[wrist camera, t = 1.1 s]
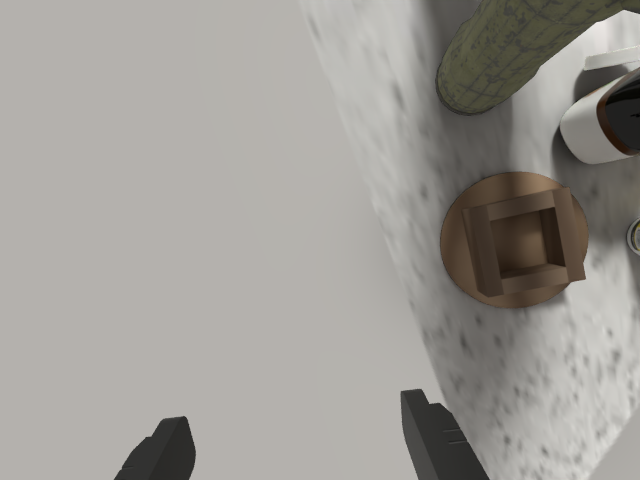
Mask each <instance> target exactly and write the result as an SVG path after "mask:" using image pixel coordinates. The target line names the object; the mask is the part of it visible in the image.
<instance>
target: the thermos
mask: <svg viewBox="0 0 640 480" xmlns="http://www.w3.org/2000/svg"><path fill="white" fill-rule="evenodd" d="M622 10H627V11H631V12H634V13H638V14H640V0H482V2H481V4H480V5H479V7H478V9H477V10H476V12H475V14H474V15H473V17H472V18H470V19H469V20H467V21H466V22H464V23H463V24H462V25H461V26H460V28H459V30H458V32H457V33H456V35H455V37H454V38H453V40H452V42H451V44H450V45H449V47H448V49H447V51H446V53H445V55H444V57H443V59H442V62H441V64H440V66H439V68H438V70H437V75H436V80H435V81H436V90H437V93H438V96H439V98H440V100H441V102H442V103H443V104H444V105H445V106H446V107H447V108H448V109H449V110H451V111H453V112H455V113H457V114H461V115H469V116H471V115H476V114H482V113H484V112H486V111H487V110H489V109H491V108H493V107H494V106H495V105H497V104H499V103H501V102H503V101H505V100H506V99H507V98H509V97H510V96H511V95H513V94H514V93H515V92H517V91H518V90H519V89H520V88H521V87H522V86H524V85H525V84H526V83H527V82H528V81H529V80H530V79H531V78H533V77H534V76H535V74H536V73H537V71H538V69H539V67H540V66H541V65H543V64H544V63H545V62H546V61H548V60H549V59H550V58H551V57H553V56H554V55H555V54H557V53H558V52H559V51H560V50H562V49H563V48H564V47H565V46H567V45H568V44H569V43H571V42H572V41H573V40H574V39H576V38H577V37H578V36H579V35H581V34H582V33H583V32H585V31H586V30H587V29H588V28H590V27H591V26H592V25H593V24H595V23H596V22H599V21H603V20H605V19H607V18H609V17H611V16H613V15H615V14H617V13H618V12H620V11H622Z"/></svg>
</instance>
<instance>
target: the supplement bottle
mask: <svg viewBox="0 0 640 480" xmlns="http://www.w3.org/2000/svg"><path fill="white" fill-rule="evenodd" d="M627 241H628V244H629V246H630V248H631V249H632V250H633V251H634V252H635V253H636V254H638V255H640V218H638V219H637V220H636V221H635V222H634V223H633V224H632V225H631V226H630V228H629V230H628V234H627Z"/></svg>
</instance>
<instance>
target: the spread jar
mask: <svg viewBox="0 0 640 480" xmlns="http://www.w3.org/2000/svg"><path fill="white" fill-rule="evenodd" d="M636 61H640V46H635V47H630V48H626V49H621V50H616V51H611V52H606V53H602V54H597V55H593V56H588V57H586V59H585V66H584V70H591V69H597V68H603V67H608V66H614V65H620V64H625V63H631V62H636ZM560 132H561V136H562V138H563V141H564V143H565V145H566V146H567V148H568V149H569V150H570V152H571V153H572V154H573V155H574V156H575V157H577V158H578V159H579V160H581V161H582V162H584V163H587V164H599V163H605V162H610V161H615V160H620V159H624V158H629V157H633V156H637V155H640V67H639V68H637V69H635V70H633V71H631V72H629V73H627V74H625V75H623V76H621V77H619V78H617V79H615V80H613V81H611V82H609V83H608V84H606V85H604V86H602V87H600V88H598V89H596V90H594V91H593V92H591V93H589V94H588V95H586V96H584V97H583V98H581V99H580V100H579V101H577V102H576V103H575V104H573V105H572V106H571V107H570V108H569V109H568V110H567V111H566V112H565V113H564V115H563V116H562V118H561V120H560Z"/></svg>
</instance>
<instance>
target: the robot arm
mask: <svg viewBox="0 0 640 480" xmlns="http://www.w3.org/2000/svg"><path fill="white" fill-rule="evenodd" d="M401 409H402V425H403V432H404V436H405V441H406V444H407V447H408V450H409V453H410V456H411V459H412V461H413V464H414V468H415V470H416V473H417V476H418V479H419V480H490V479H489V477H488V476H487V474H486V472H485V471H484V469H483V467H482V465H481V464H480V462H479V460H478V458H477V457H476V455H475V453H474V451H473V450H472V448H471V446H470V444H469V443H468V442H467V439H466V437H465V436H464V434H463V432H462V431H461V430H460V427H459V425H458V423H457V422H456V420H455V418H454V416H453V415H452V413H450V412H449V411H448V410H447V409H446V408H445V407H444V406H442V405H441V404H440V403H434V404H429V402H428V400H427V398H426V396H425V394H424V392H423V391H422V389H415V390H406V391H401ZM195 456H196V451H195V446H194V442H193V438H192V435H191V431H190V427H189V424H188V420H187V418H186V417H185V416H183V417H174V418H165V419H163V420H162V421H161V422H160V423H159V425H158V426H157V428H156V430H155V432H154V433H153V435H152V436H151V437H146V438H145V439H144V440H143V441H142V442H141V443H140V444H139V445H138V446H137V447H136V448H135V449H134V450H133V451H132V452H131V454H130V455H129V457H128V458H127V460H126V461H125V463H124V465H123V466H122V470H120V471H119V472H118V474H117V476H116V477H115V479H114V480H189V478H190V476H191V473H192V471H193V468H194V463H195Z"/></svg>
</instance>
